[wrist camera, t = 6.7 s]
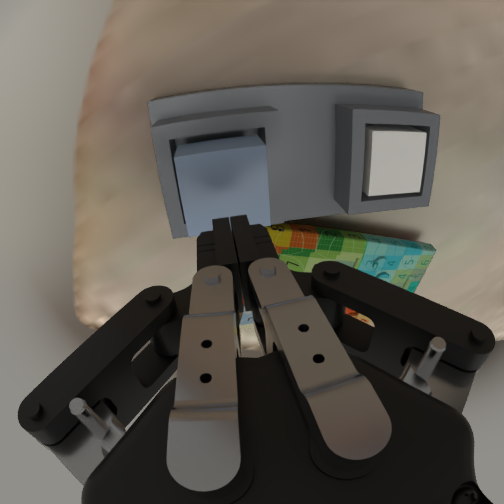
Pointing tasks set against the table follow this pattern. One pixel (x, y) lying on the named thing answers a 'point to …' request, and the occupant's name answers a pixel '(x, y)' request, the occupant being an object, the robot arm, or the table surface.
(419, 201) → the grey plastic block
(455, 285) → the table surface
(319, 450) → the robot arm
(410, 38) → the table surface
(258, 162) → the blue key
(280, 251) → the puzzle game
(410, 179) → the white key
